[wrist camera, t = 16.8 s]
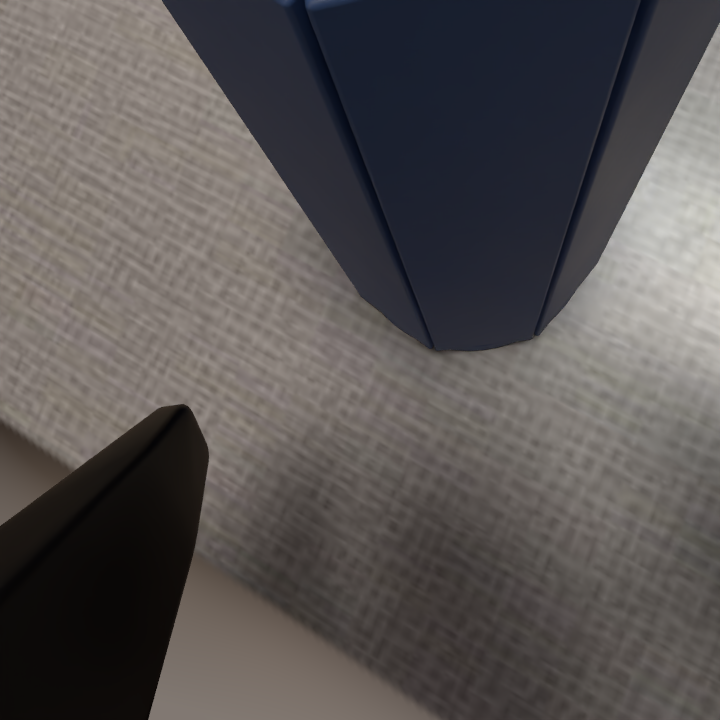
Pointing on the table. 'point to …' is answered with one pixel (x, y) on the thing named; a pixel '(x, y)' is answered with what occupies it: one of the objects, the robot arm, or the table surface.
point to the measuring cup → (457, 138)
